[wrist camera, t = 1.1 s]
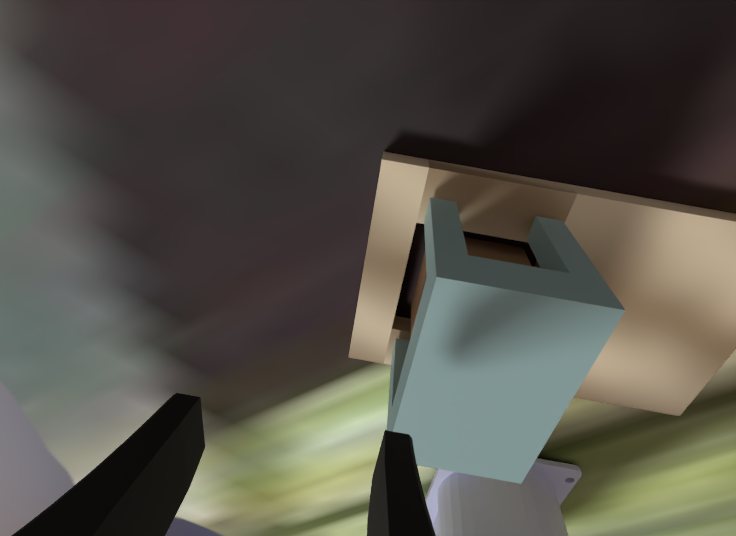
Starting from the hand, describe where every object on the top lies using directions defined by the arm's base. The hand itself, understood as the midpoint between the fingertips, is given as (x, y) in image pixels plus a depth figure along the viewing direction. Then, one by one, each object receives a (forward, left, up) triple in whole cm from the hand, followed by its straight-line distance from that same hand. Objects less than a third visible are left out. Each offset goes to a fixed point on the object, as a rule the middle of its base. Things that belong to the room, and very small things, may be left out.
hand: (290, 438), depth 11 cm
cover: (0, -6, -8) cm, 10 cm away
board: (0, -9, -9) cm, 13 cm away
